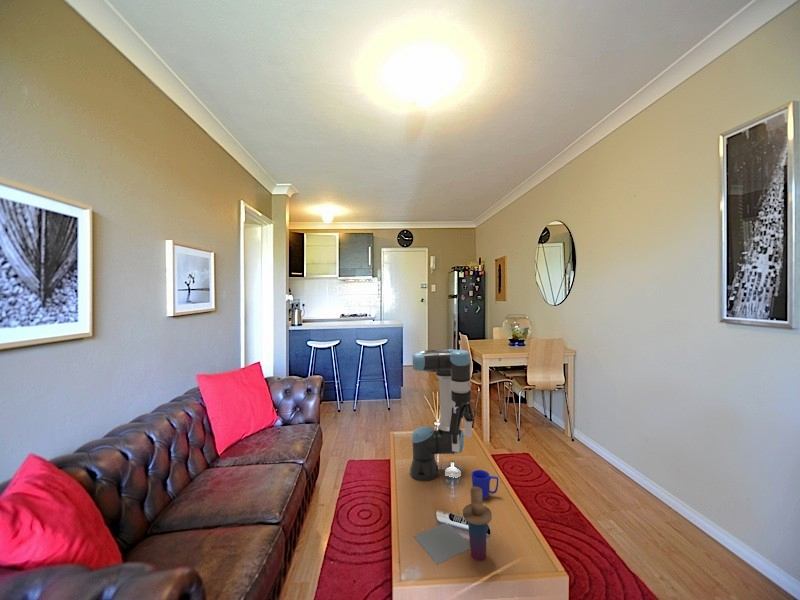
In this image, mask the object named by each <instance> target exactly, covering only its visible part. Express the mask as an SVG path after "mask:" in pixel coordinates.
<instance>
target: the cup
mask: <svg viewBox="0 0 800 600" xmlns="http://www.w3.org/2000/svg"><path fill="white" fill-rule="evenodd" d="M467 525H468V534H469V543H470V555H471V557H472V559H474V560H475V561H477V562H482V561H484V560H485V559H486V558H487V532H488V531H487V530H488V523H487V524H485V525H475V524H471V523H469V522H468V521H467Z"/></svg>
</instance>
